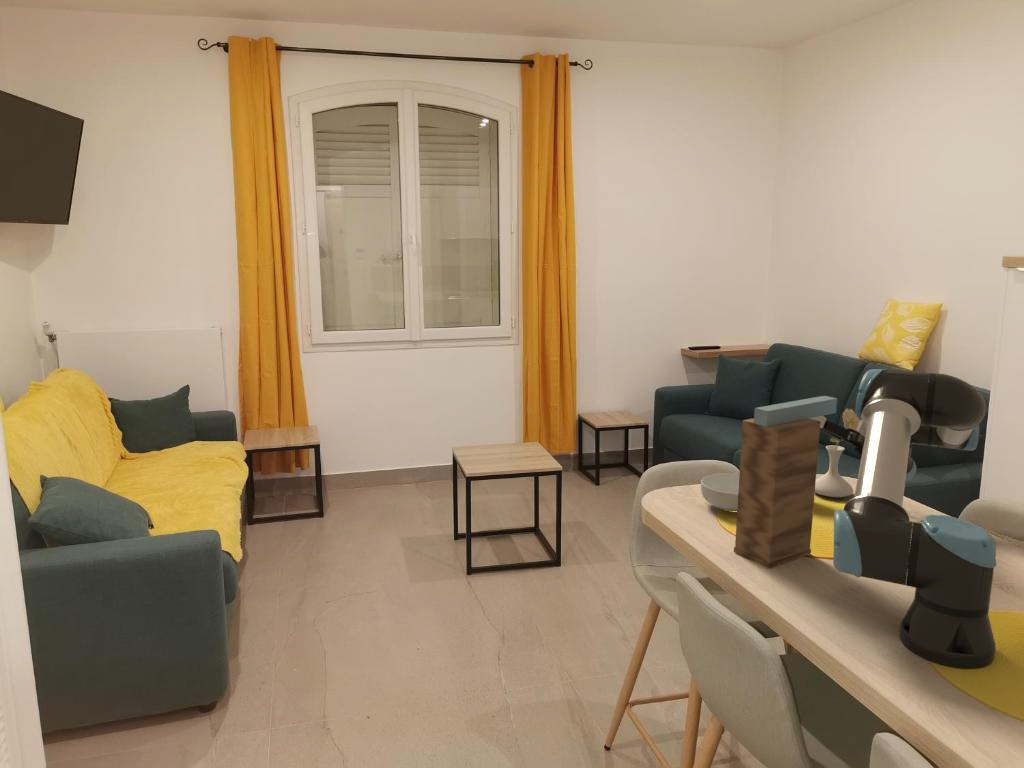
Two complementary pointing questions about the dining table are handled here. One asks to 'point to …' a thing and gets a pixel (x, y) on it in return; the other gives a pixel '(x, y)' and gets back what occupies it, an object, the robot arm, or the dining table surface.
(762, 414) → the bar
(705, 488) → the cereal bowl
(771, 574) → the dining table surface
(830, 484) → the flower in vase
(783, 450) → the pedestal
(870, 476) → the robot arm
